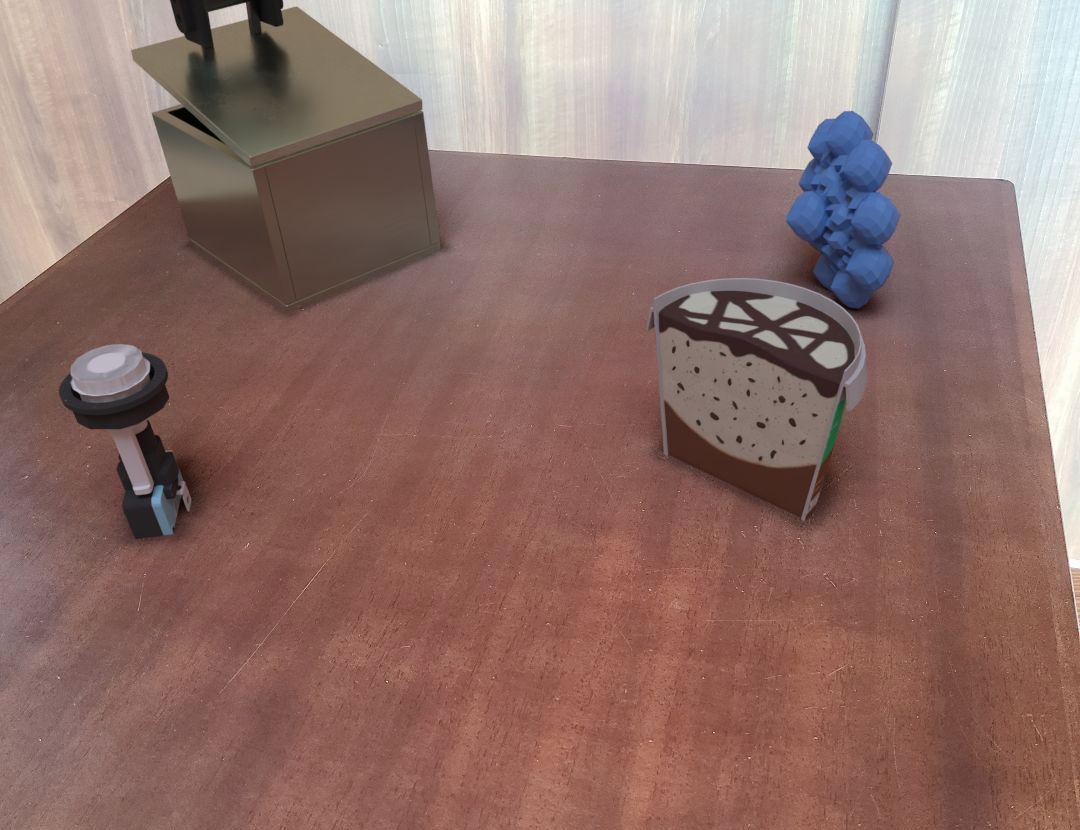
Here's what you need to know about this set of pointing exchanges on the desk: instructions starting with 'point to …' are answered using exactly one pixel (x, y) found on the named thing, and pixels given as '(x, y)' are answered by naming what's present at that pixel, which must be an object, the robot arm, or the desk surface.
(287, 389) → the desk surface
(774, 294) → the food container
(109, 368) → the push button
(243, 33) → the bin lid
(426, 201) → the bin
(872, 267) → the grapes
